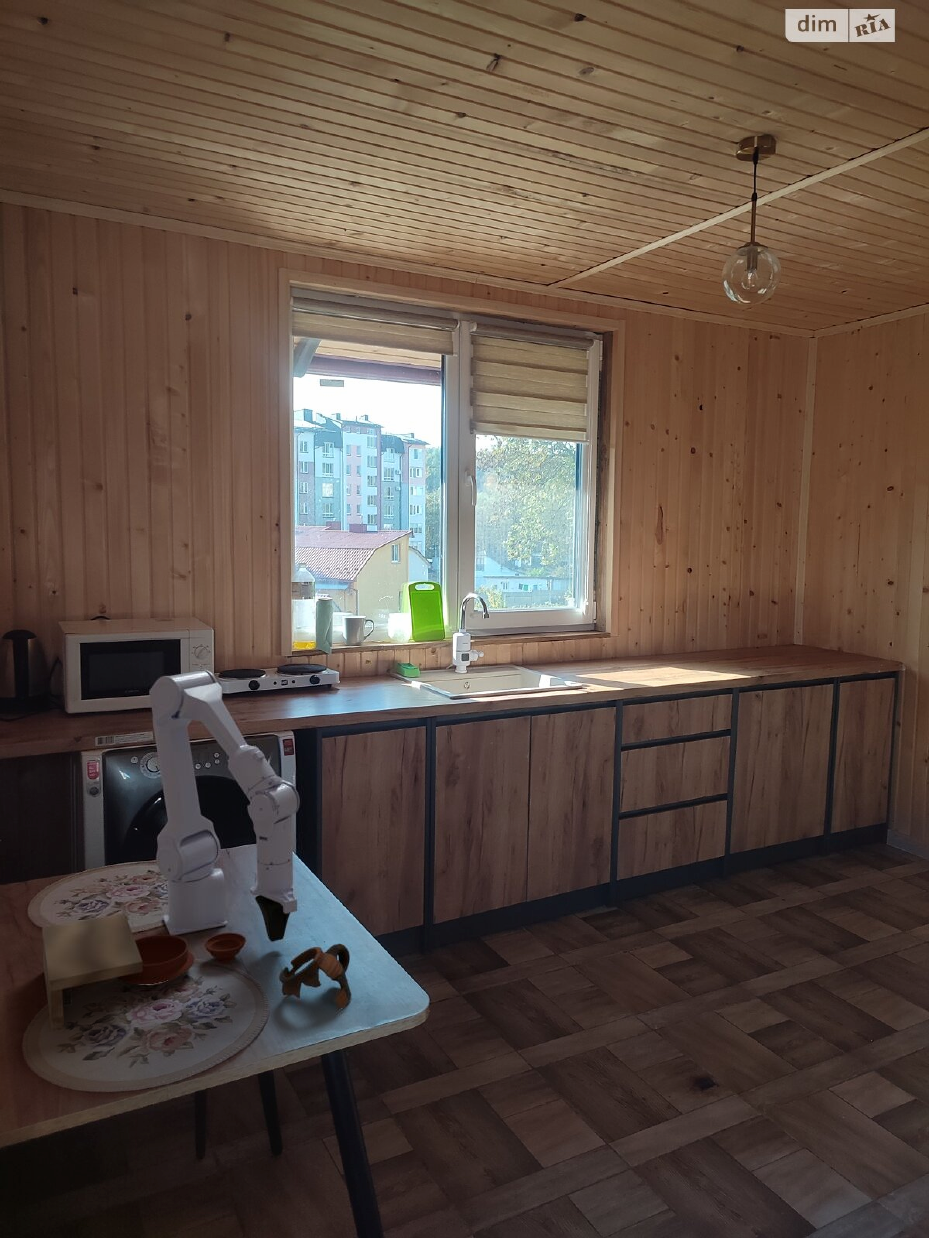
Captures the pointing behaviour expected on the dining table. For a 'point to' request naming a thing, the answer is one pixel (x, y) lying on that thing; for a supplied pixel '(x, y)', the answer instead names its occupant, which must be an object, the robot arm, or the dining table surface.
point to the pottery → (178, 956)
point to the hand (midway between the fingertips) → (276, 938)
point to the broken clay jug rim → (311, 972)
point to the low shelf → (86, 957)
